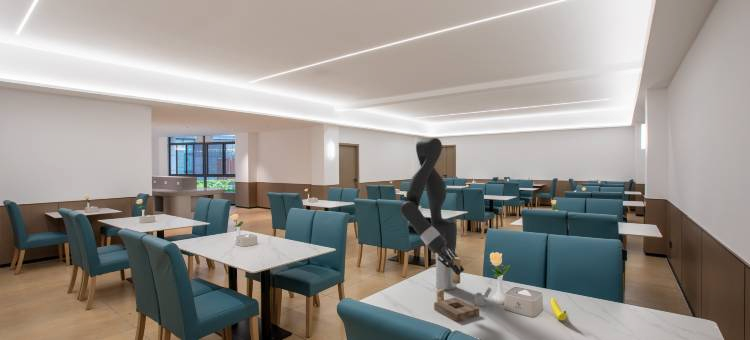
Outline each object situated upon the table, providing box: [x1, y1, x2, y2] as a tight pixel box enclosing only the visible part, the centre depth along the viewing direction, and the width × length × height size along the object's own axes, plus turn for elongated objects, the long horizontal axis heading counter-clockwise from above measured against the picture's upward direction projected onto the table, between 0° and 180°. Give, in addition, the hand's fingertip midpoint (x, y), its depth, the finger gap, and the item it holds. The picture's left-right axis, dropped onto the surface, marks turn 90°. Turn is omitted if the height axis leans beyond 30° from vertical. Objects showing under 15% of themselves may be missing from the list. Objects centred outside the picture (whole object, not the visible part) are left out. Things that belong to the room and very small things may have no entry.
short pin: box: [436, 288, 445, 302], centre depth 168 cm, size 3×3×4 cm
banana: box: [550, 296, 568, 321], centre depth 149 cm, size 3×19×6 cm, turn 168°
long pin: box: [452, 256, 461, 285], centre depth 154 cm, size 3×3×10 cm
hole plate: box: [433, 297, 480, 323], centre depth 155 cm, size 12×14×3 cm
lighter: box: [473, 287, 492, 307], centre depth 162 cm, size 7×2×8 cm, turn 72°
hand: (461, 272), depth 153 cm, fingers closed on long pin, 3 cm apart
